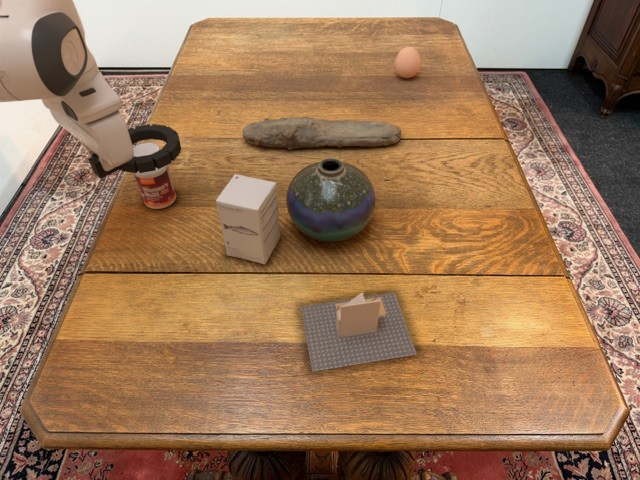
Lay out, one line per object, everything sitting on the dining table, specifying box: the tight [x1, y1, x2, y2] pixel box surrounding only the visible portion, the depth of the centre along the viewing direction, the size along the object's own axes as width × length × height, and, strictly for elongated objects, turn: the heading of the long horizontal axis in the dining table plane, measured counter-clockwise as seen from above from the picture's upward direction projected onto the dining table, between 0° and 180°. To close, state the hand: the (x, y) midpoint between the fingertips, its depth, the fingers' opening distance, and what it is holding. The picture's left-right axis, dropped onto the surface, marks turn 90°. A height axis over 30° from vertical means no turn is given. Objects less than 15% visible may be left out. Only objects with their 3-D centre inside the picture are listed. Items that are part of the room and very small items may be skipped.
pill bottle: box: [133, 142, 177, 210], centre depth 87 cm, size 6×6×11 cm
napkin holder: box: [335, 292, 387, 338], centre depth 68 cm, size 3×7×7 cm, turn 100°
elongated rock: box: [241, 116, 402, 151], centre depth 104 cm, size 35×5×10 cm
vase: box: [285, 157, 376, 243], centre depth 81 cm, size 15×15×13 cm
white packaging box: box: [215, 173, 281, 265], centre depth 78 cm, size 7×7×13 cm
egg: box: [394, 46, 422, 79], centre depth 123 cm, size 7×7×8 cm
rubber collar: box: [87, 123, 182, 179], centre depth 82 cm, size 15×12×3 cm
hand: (103, 163), depth 79 cm, fingers closed on rubber collar, 2 cm apart
